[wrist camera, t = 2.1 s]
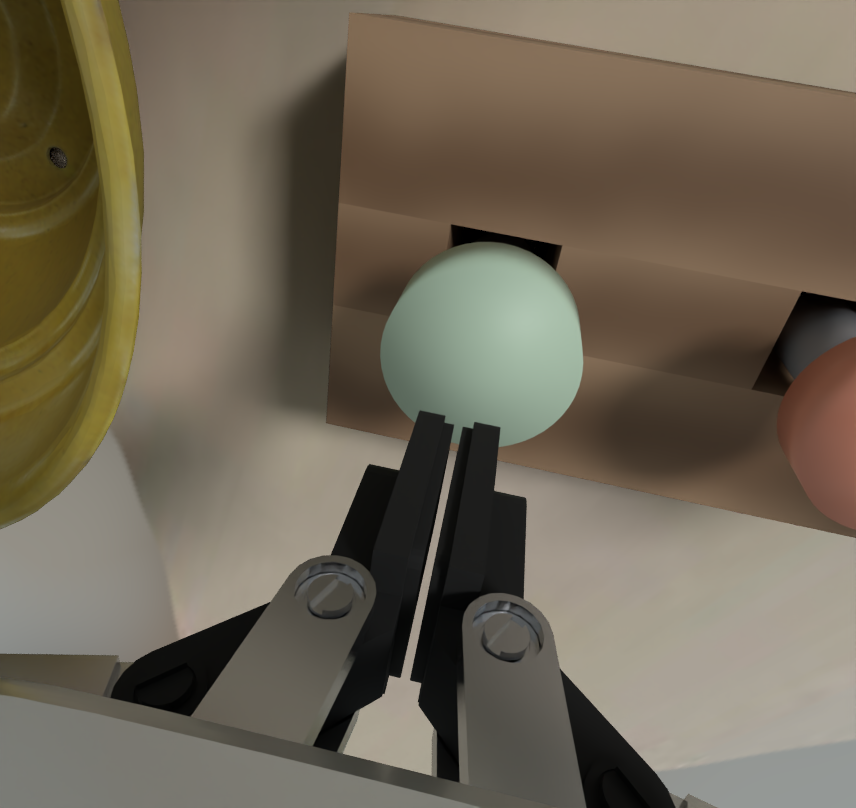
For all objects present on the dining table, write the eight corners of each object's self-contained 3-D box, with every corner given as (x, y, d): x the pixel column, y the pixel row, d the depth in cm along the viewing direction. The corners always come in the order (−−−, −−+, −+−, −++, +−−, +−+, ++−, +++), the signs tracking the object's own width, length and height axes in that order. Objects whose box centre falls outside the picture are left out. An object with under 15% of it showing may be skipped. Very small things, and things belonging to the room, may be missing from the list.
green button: (439, 180, 21) (391, 248, 14) (591, 208, 20) (610, 290, 14) (419, 318, 23) (372, 425, 17) (552, 345, 23) (553, 464, 17)
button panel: (395, 15, 22) (349, 12, 17) (1035, 123, 20) (1196, 155, 15) (364, 355, 29) (326, 423, 24) (826, 451, 28) (887, 544, 23)
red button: (767, 241, 20) (868, 341, 14) (931, 272, 19) (1112, 388, 13) (705, 376, 23) (765, 510, 16) (847, 405, 22) (964, 553, 16)
